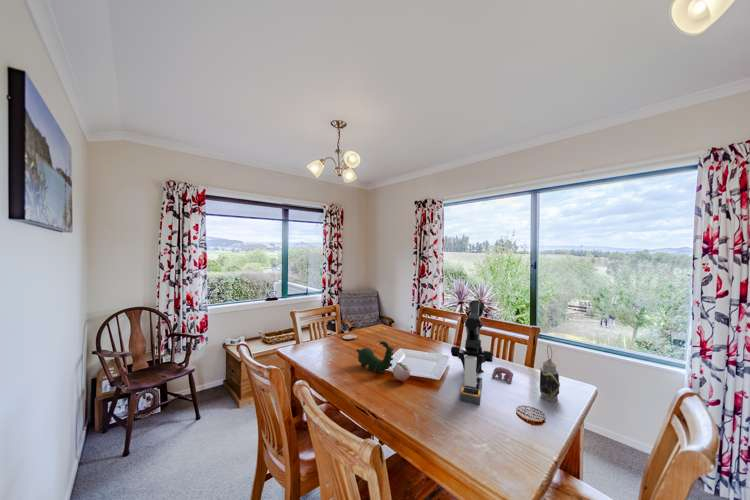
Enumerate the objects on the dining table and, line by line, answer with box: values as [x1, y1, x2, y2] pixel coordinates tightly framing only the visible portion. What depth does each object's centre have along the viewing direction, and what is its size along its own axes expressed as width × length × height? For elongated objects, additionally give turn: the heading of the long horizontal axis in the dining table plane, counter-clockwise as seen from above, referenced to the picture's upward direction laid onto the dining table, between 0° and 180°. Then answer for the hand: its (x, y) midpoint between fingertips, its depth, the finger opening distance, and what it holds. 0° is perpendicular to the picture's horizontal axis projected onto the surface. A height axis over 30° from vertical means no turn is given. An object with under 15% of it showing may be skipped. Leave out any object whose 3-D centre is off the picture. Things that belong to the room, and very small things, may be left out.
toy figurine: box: [355, 340, 394, 374], centre depth 163 cm, size 9×19×25 cm
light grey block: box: [463, 355, 478, 387], centre depth 131 cm, size 4×5×12 cm
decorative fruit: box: [392, 361, 411, 382], centre depth 148 cm, size 9×8×10 cm
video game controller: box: [491, 366, 514, 384], centre depth 151 cm, size 10×5×7 cm, turn 48°
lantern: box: [539, 344, 561, 403], centre depth 132 cm, size 9×8×25 cm
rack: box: [459, 376, 483, 406], centre depth 137 cm, size 20×8×4 cm, turn 157°
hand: (470, 371), depth 130 cm, fingers closed on light grey block, 5 cm apart
